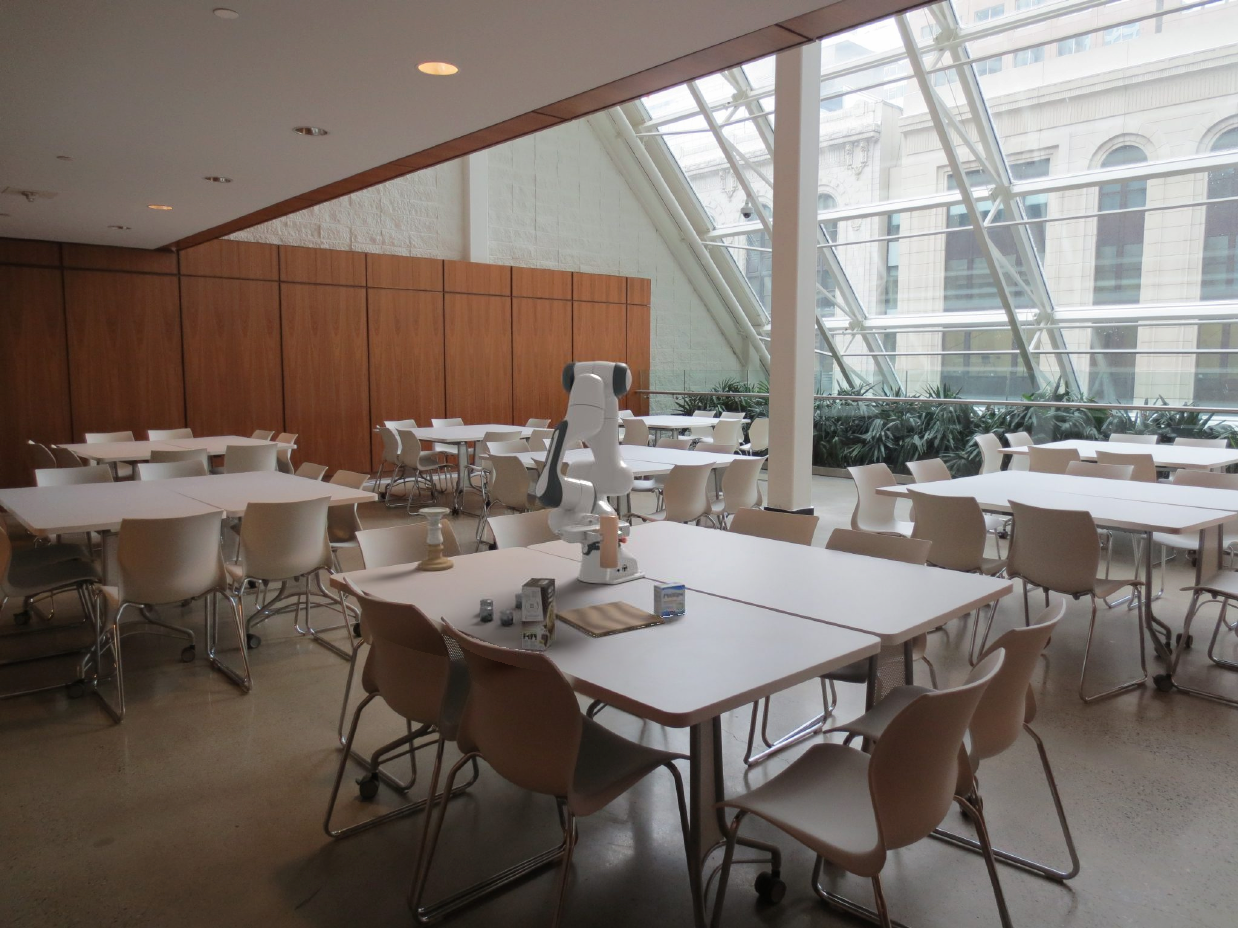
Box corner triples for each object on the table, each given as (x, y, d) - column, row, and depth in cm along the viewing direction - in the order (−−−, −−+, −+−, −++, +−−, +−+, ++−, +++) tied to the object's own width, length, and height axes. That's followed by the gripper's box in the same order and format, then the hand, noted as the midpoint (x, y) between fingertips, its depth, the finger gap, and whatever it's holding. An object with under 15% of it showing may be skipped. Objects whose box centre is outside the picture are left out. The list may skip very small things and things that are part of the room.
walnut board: (620, 604, 250) (620, 600, 250) (664, 623, 232) (664, 619, 231) (554, 616, 238) (554, 612, 238) (596, 637, 219) (596, 633, 219)
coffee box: (546, 651, 209) (545, 587, 207) (521, 649, 210) (520, 585, 208) (556, 639, 218) (556, 577, 216) (532, 637, 219) (531, 576, 217)
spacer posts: (533, 602, 251) (533, 591, 251) (564, 618, 236) (564, 605, 235) (468, 613, 240) (468, 601, 239) (496, 630, 224) (496, 617, 224)
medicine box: (661, 618, 236) (661, 587, 235) (653, 614, 240) (653, 584, 239) (685, 614, 240) (685, 584, 239) (677, 610, 244) (677, 580, 243)
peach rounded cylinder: (611, 563, 236) (611, 513, 235) (621, 567, 232) (621, 516, 231) (596, 565, 233) (596, 515, 232) (606, 569, 229) (606, 518, 228)
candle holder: (436, 561, 304) (435, 505, 302) (460, 565, 297) (459, 509, 295) (409, 567, 294) (408, 510, 292) (434, 572, 287) (432, 514, 285)
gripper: (552, 521, 237) (577, 529, 225) (614, 514, 248) (641, 521, 236) (552, 543, 237) (577, 552, 226) (613, 535, 249) (640, 544, 237)
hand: (610, 536), depth 231 cm, fingers closed on peach rounded cylinder, 5 cm apart
